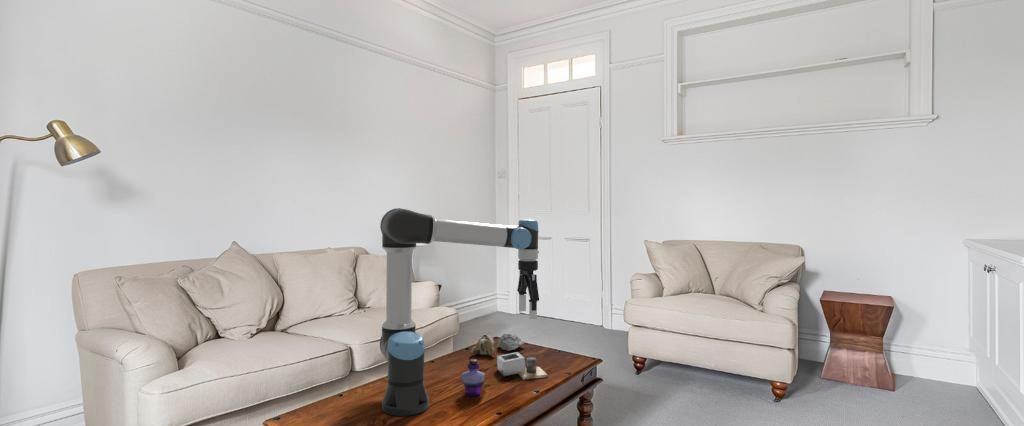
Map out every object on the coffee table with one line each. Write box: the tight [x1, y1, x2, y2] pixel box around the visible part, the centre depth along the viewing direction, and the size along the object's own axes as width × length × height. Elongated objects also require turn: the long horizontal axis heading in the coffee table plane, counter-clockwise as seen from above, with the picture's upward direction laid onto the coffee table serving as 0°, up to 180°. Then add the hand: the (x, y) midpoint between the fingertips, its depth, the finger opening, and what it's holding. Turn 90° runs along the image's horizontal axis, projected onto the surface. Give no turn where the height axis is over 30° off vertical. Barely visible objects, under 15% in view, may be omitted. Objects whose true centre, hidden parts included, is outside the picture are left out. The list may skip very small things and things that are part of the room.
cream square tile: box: [517, 356, 549, 380], centre depth 208 cm, size 10×10×6 cm
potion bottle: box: [461, 358, 486, 398], centre depth 186 cm, size 9×9×12 cm
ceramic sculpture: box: [470, 333, 496, 357], centre depth 234 cm, size 11×9×15 cm
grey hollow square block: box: [496, 351, 526, 377], centre depth 210 cm, size 9×9×6 cm
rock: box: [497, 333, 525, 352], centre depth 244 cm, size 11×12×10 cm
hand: (527, 314), depth 203 cm, fingers open, 13 cm apart
